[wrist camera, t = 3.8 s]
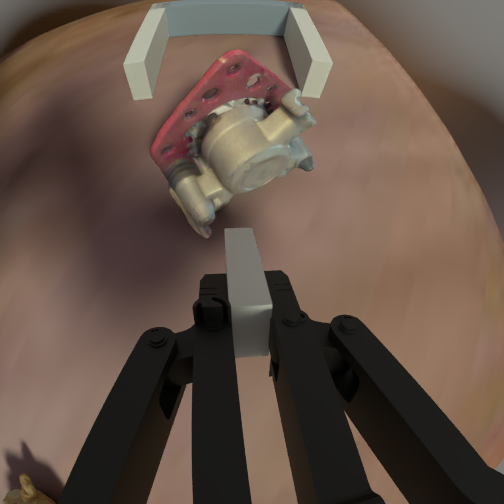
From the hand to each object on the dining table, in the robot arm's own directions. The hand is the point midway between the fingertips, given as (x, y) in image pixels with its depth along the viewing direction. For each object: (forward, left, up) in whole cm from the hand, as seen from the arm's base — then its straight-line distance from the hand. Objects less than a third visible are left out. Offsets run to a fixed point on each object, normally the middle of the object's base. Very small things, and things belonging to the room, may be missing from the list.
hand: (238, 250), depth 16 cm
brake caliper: (-8, +4, -5) cm, 10 cm away
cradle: (-22, +10, -4) cm, 24 cm away
